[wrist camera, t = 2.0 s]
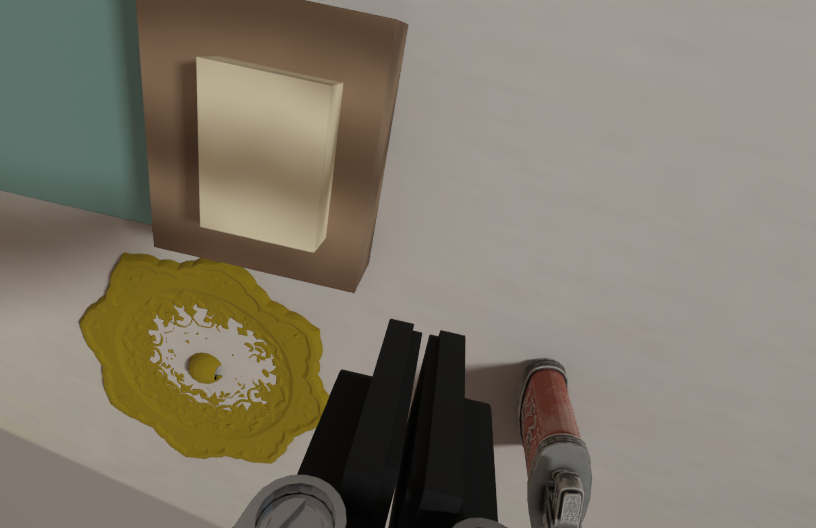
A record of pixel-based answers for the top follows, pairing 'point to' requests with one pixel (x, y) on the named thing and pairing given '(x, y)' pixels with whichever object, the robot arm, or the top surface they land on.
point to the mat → (74, 105)
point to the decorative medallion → (204, 358)
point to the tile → (266, 151)
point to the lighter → (552, 448)
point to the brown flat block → (287, 50)
